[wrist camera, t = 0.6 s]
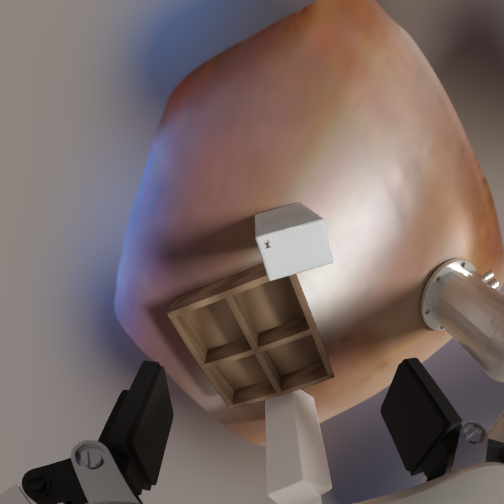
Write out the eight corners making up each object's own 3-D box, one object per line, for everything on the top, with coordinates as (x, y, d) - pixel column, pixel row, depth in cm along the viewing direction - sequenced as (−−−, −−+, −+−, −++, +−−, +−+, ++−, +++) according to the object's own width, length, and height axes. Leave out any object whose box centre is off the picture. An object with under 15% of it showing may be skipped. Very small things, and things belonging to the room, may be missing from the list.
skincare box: (263, 246, 36) (267, 283, 24) (254, 214, 35) (252, 236, 23) (310, 233, 35) (334, 263, 24) (301, 200, 34) (324, 216, 23)
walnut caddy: (287, 253, 36) (291, 265, 32) (328, 358, 41) (334, 376, 36) (175, 298, 38) (166, 313, 34) (231, 389, 43) (229, 408, 38)
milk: (264, 400, 43) (265, 514, 22) (290, 381, 42) (304, 501, 21) (289, 414, 44) (298, 520, 23) (314, 397, 43) (336, 507, 22)
